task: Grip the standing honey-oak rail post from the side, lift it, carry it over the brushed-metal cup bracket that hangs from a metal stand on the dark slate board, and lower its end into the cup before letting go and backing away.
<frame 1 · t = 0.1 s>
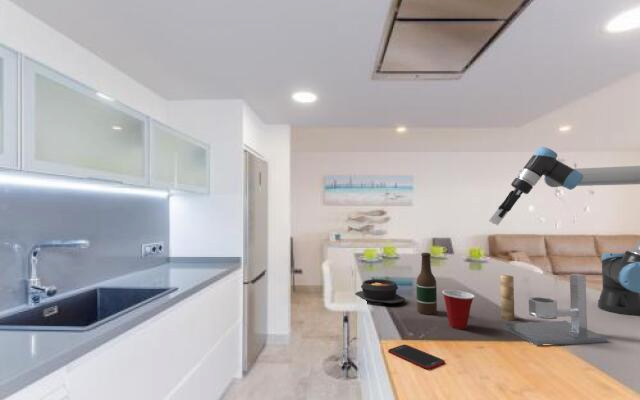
hand: (492, 223, 149), 36 cm above the worktop, tool tilted 35°, fingers open, 13 cm apart
cell phone: (415, 359, 98), on the worktop
rail post: (507, 318, 132), on the worktop
casserole: (379, 300, 160), on the worktop
cup bracket: (543, 335, 114), on the worktop
beer bottle: (426, 312, 141), on the worktop
plastic cup: (458, 327, 123), on the worktop
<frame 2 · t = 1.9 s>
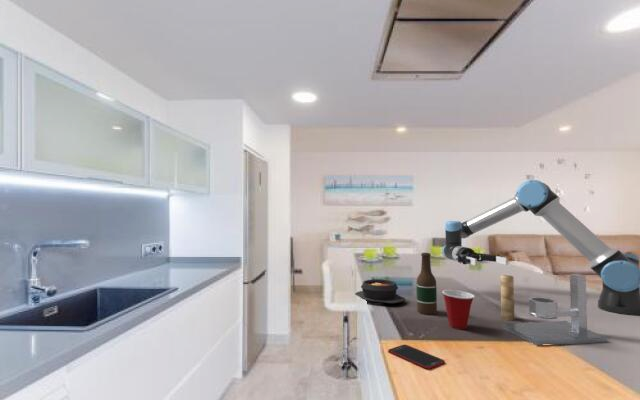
hand: (491, 261, 142), 20 cm above the worktop, tool horizontal, fingers open, 13 cm apart
nothing on the worktop moved.
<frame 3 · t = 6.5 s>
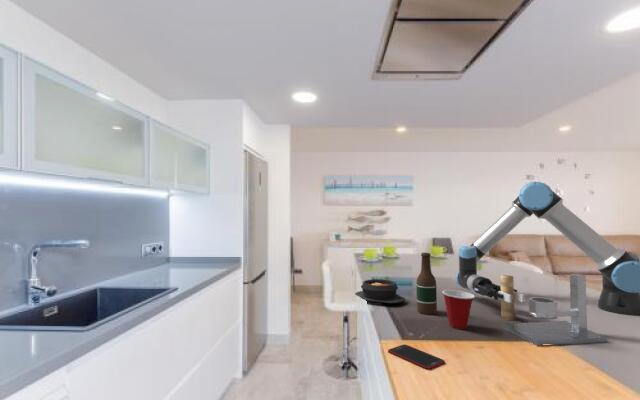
hand: (516, 298, 127), 9 cm above the worktop, tool horizontal, fingers closed on rail post, 4 cm apart
rail post: (507, 318, 132), on the worktop, touching gripper
everything else where it was.
when the fingers open (17 cm above the worktop, at t = 12.1 s): rail post stays where it is, resting on cup bracket.
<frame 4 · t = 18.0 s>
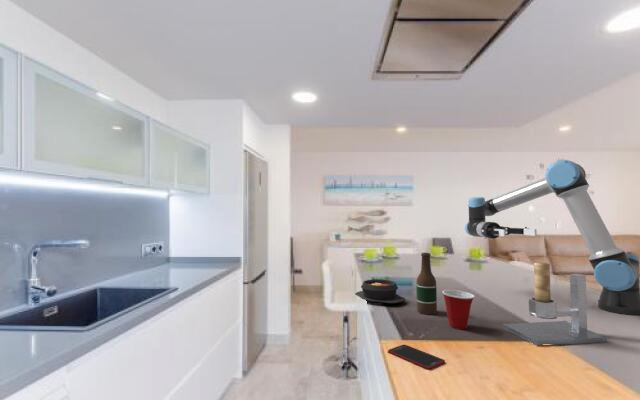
hand: (520, 232, 141), 32 cm above the worktop, tool horizontal, fingers open, 13 cm apart
rail post: (542, 312, 114), point 8 cm above the worktop, touching cup bracket
everything else where it was.
at the end: rail post 0.0 cm off-centre on the cup bracket, point 7.5 cm above the cup bracket's base; rail post tilted 0°; the gripper is holding nothing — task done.
